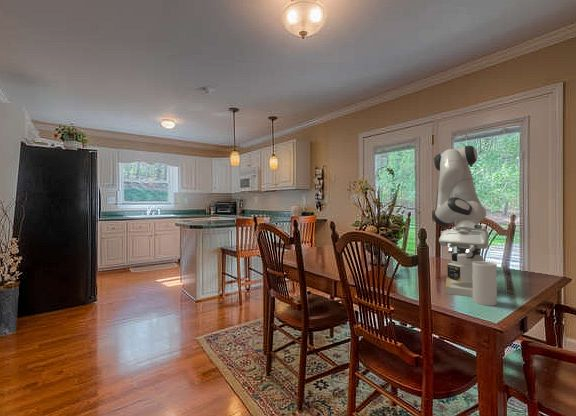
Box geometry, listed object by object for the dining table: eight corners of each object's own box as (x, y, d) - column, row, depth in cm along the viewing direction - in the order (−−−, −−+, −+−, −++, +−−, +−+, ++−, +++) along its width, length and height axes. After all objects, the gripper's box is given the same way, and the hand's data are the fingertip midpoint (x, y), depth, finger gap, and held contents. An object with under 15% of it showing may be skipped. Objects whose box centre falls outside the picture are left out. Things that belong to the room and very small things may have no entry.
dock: (446, 283, 151) (446, 277, 151) (474, 286, 145) (474, 280, 145) (445, 293, 135) (445, 286, 135) (477, 297, 129) (477, 290, 129)
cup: (468, 298, 127) (468, 260, 127) (489, 299, 127) (489, 261, 126) (479, 305, 119) (478, 265, 119) (501, 305, 118) (501, 265, 118)
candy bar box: (381, 273, 174) (381, 245, 174) (390, 273, 173) (390, 245, 173) (383, 278, 163) (383, 248, 163) (393, 278, 162) (393, 248, 162)
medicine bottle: (447, 278, 141) (446, 252, 140) (459, 277, 143) (458, 251, 142) (460, 282, 134) (459, 255, 134) (472, 280, 136) (472, 253, 136)
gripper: (441, 225, 150) (433, 246, 144) (488, 226, 135) (481, 250, 129) (445, 233, 153) (437, 255, 147) (492, 235, 138) (485, 260, 131)
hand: (458, 253), depth 138 cm, fingers closed on medicine bottle, 6 cm apart
